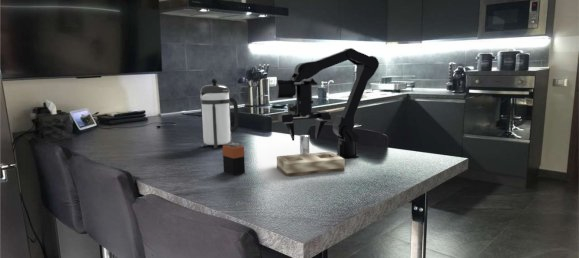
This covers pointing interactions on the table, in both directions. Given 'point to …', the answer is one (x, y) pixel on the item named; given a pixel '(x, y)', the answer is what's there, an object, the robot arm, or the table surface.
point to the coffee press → (217, 114)
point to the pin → (304, 144)
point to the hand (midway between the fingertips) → (304, 139)
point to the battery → (233, 158)
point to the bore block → (310, 163)
